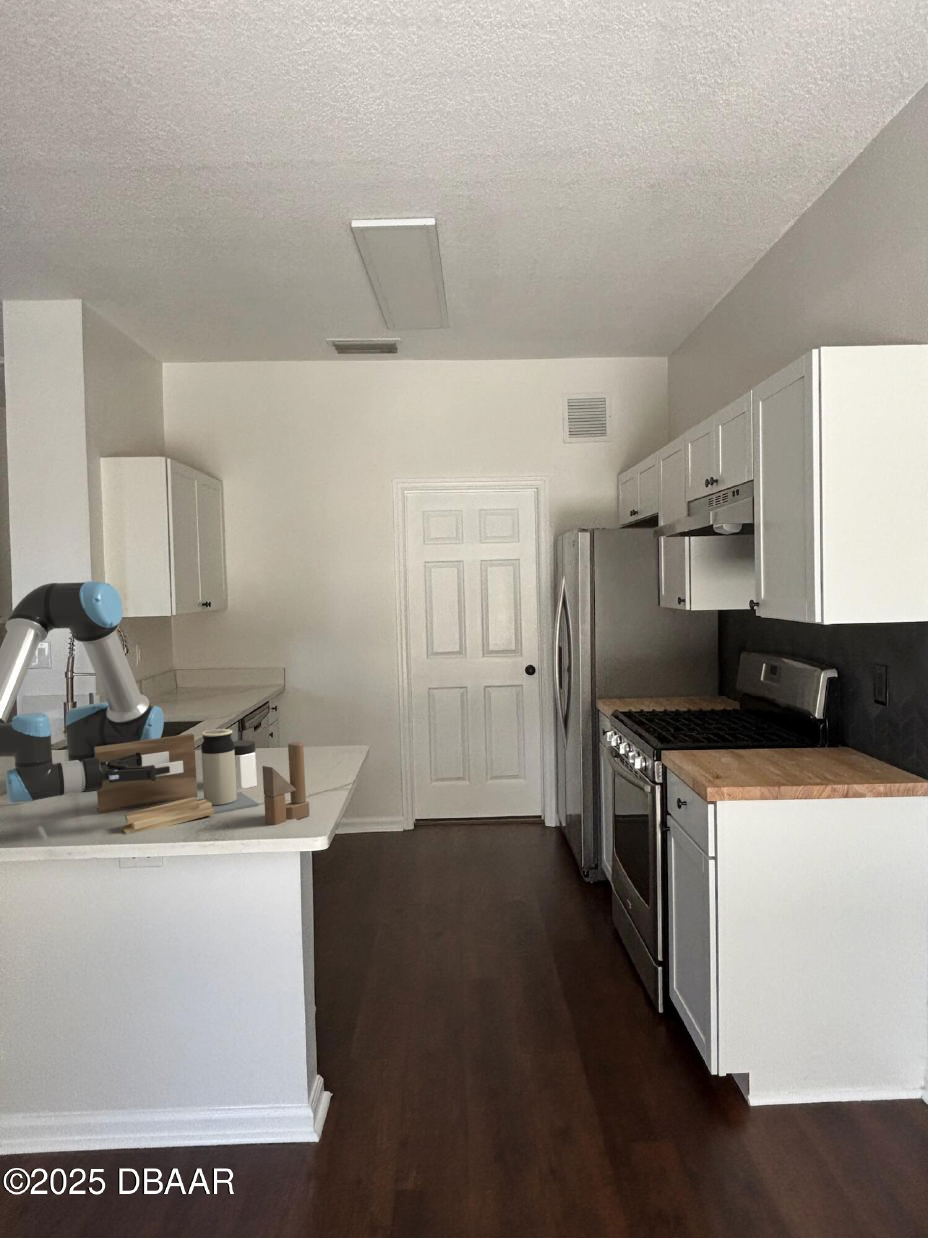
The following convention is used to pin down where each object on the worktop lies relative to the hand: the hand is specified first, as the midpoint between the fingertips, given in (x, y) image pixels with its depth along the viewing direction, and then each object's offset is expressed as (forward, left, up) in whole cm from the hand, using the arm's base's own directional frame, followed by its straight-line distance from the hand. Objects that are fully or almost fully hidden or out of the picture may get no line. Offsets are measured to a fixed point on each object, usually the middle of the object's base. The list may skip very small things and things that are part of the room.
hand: (175, 761), depth 205 cm
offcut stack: (+8, -4, -13) cm, 16 cm away
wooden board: (-12, -4, -13) cm, 18 cm away
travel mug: (0, +10, -12) cm, 16 cm away
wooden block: (+23, +20, -13) cm, 33 cm away
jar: (-17, +22, -13) cm, 31 cm away
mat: (+1, +10, -13) cm, 17 cm away
